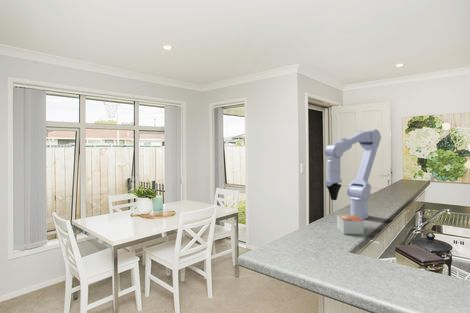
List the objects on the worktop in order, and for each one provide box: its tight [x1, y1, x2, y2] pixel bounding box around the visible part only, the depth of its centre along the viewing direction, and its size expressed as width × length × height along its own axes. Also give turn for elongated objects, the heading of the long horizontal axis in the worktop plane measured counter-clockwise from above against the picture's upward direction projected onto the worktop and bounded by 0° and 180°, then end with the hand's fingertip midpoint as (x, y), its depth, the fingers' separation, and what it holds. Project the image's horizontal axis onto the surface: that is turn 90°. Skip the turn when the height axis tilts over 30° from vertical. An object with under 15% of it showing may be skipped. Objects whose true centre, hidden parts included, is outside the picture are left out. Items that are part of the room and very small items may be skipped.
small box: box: [336, 214, 365, 236], centre depth 120 cm, size 8×6×10 cm
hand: (333, 199), depth 134 cm, fingers closed
